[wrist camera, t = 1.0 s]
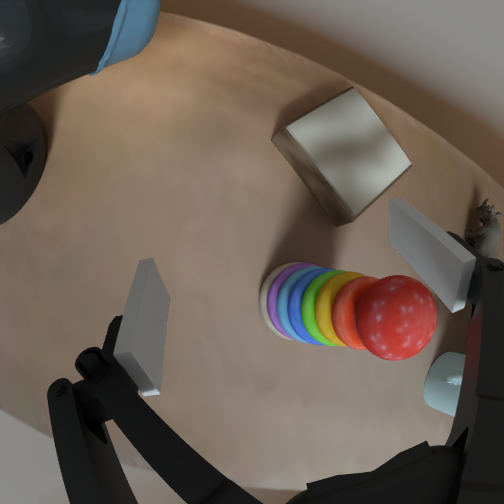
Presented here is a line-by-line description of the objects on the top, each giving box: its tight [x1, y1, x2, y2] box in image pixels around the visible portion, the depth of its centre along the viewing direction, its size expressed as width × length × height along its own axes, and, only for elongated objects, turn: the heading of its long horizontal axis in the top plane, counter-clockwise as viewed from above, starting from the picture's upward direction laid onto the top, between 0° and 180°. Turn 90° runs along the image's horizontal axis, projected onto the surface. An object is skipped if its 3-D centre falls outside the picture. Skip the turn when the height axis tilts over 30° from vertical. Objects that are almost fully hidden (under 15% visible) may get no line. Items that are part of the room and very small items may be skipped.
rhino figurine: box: [465, 198, 501, 259], centre depth 37 cm, size 4×14×6 cm, turn 157°
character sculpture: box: [424, 352, 466, 417], centre depth 31 cm, size 20×12×13 cm, turn 66°
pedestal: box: [271, 86, 412, 227], centre depth 33 cm, size 12×12×4 cm
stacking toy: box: [259, 262, 437, 361], centre depth 24 cm, size 8×8×19 cm
